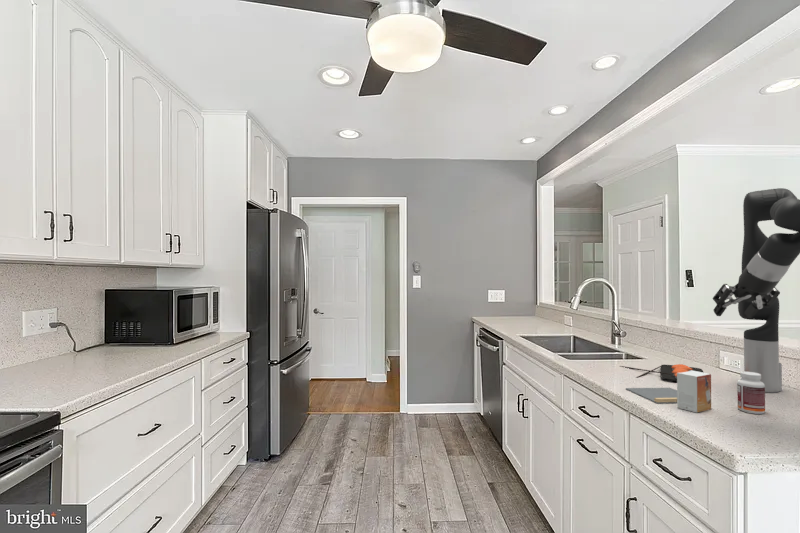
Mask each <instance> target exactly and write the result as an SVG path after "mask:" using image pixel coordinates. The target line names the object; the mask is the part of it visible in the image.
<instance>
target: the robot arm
mask: <svg viewBox="0 0 800 533" xmlns="http://www.w3.org/2000/svg"><path fill="white" fill-rule="evenodd" d="M742 203H743V205H742V207H743V209H742V210H743V245H742V253H741V273H740V275H739V277H738V282H737V283H736V284H735V285H732V286H731V285H729V284H728V283H723V284H722V285H721V287H720V288H719V289H718V291H716V293H715V294H714V296H713V297H712V300H713V301H714V303H715V304H716V306H715V307H714V309H713V312H714V314H715V315H716V317H721V316H722V315H723V314H724V313H725V311H726V310H727V307H730V306H731V305H736V304H737V311H738V315H739V316H740V317H741V319H744V320H745V319H746V320H751V321H752V320H753V321H766V322H765V323H763V324H762V325H761V326H758V327H754V328H750V329H746V330H744V332H743V372H754V373H759V374H761V380H760V381H761V382H763V383H764V385H765V393H779V392H782V391H783V374H782V372H783V371H782V370H783V367H782V366H783V365H782V362H780V349H779V347H780V345H779V344H780V342H779V341H780V340H779V338H780V337H779V336H780V335H779V320H780V319H779V318H780V300H779V295H780V293H781V292H780V291H779V289H778V288H777V287H776V286H777V285H778V284H779V283H780V281H781V280H782V278H783V277H784V276H785V275H786V273H788V271H789V268H790V267H791V266H792V264H793V263H794V261H795V260H796V259H797V258H798V256H799V255H800V199H799V198H797V196H796V194H794V193H793V191H792V190H790V189H789V188H788V189H787V188H784V187H783V188H781V187H780V188H779V187H777V188H771V189H762V190H755V191H749V192H748V193H746V194H745V195H744V198H743V202H742ZM766 221H773V222H774V225H775V226H777V227H779V228H782V229H786V230H789V231H793V232H795V233H793V232H792V233H787V232H785V233H784V232H777V233H775V232H774V233H772V234H771V235H769V236H767V235H766V234H765V233H764V232H763V231H762V229H761V228H760V227H759V226H760V225H759V222H766ZM732 296H734V298H733V297H732ZM727 300H728V301H727Z"/></svg>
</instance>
